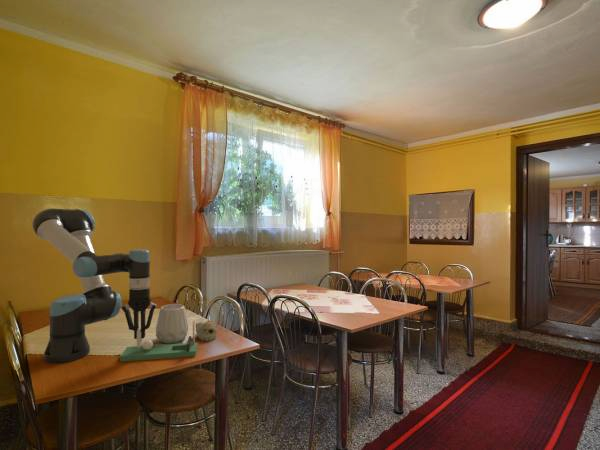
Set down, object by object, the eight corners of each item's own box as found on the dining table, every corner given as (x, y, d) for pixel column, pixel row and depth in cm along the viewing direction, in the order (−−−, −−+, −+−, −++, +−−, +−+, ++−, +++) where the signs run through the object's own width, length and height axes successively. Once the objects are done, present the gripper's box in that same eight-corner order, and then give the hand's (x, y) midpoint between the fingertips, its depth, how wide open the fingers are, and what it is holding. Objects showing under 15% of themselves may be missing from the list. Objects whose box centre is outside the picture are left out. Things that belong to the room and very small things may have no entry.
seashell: (214, 340, 153) (205, 320, 153) (197, 348, 154) (187, 329, 155) (223, 332, 163) (214, 313, 163) (206, 339, 165) (197, 321, 165)
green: (120, 361, 130) (120, 330, 130) (127, 351, 140) (127, 322, 140) (195, 356, 136) (195, 326, 136) (197, 347, 146) (197, 319, 146)
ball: (139, 346, 134) (147, 339, 135) (141, 342, 138) (149, 336, 139) (145, 353, 135) (154, 347, 136) (147, 349, 139) (156, 343, 140)
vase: (168, 347, 146) (169, 312, 145) (148, 340, 153) (149, 307, 153) (194, 338, 157) (195, 305, 157) (175, 332, 165) (175, 301, 165)
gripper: (119, 290, 131) (119, 351, 131) (154, 289, 134) (154, 348, 134) (124, 286, 138) (124, 344, 138) (158, 285, 141) (158, 342, 141)
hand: (139, 346), depth 136 cm, fingers closed
